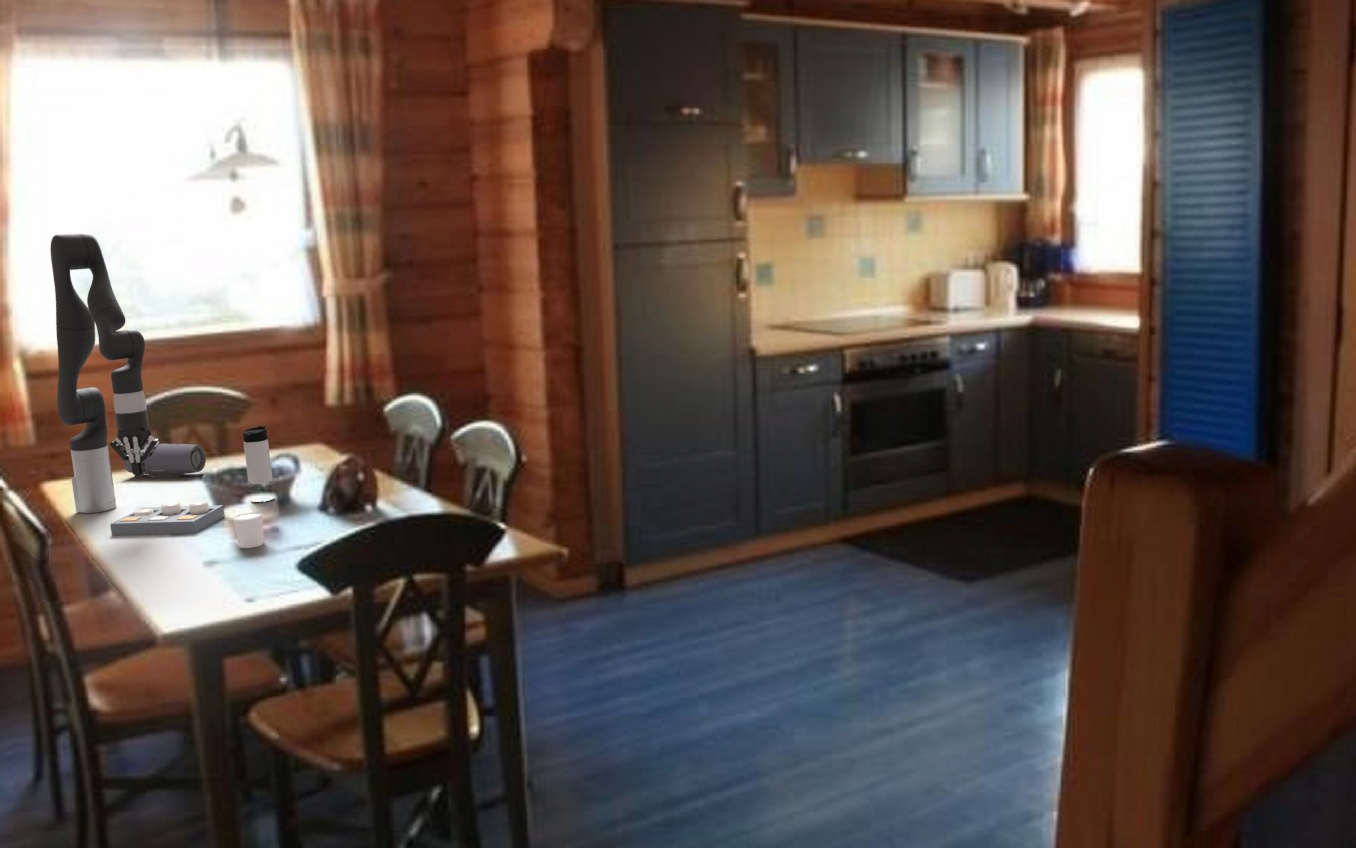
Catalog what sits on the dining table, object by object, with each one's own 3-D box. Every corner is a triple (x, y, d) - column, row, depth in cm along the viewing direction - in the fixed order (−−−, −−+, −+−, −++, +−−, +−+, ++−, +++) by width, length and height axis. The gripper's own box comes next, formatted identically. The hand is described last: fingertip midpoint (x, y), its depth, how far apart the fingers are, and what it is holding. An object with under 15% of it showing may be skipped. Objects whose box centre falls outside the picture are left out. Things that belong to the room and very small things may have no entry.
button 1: (132, 525, 331) (130, 513, 331) (141, 520, 336) (139, 509, 335) (149, 524, 331) (147, 513, 330) (158, 519, 335) (156, 508, 335)
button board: (111, 535, 324) (110, 523, 324) (144, 518, 340) (143, 506, 339) (195, 533, 322) (193, 520, 321) (224, 516, 337) (223, 504, 337)
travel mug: (280, 497, 355) (272, 425, 351) (263, 503, 349) (254, 430, 345) (262, 496, 358) (254, 425, 354) (245, 502, 352) (237, 430, 348)
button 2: (187, 517, 329) (185, 506, 329) (195, 513, 334) (194, 501, 333) (204, 517, 329) (202, 505, 328) (212, 512, 333) (211, 501, 333)
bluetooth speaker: (209, 472, 395) (205, 440, 394) (191, 479, 386) (187, 446, 385) (143, 473, 401) (139, 441, 399) (124, 479, 392) (120, 447, 390)
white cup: (238, 550, 303) (234, 521, 302) (233, 544, 309) (230, 515, 308) (268, 545, 306) (265, 516, 305) (263, 539, 312) (260, 510, 311)
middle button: (159, 518, 330) (157, 507, 330) (168, 514, 335) (166, 502, 334) (176, 518, 330) (174, 506, 329) (184, 513, 334) (183, 502, 334)
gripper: (162, 405, 331) (171, 472, 334) (114, 407, 332) (123, 473, 336) (147, 411, 323) (156, 479, 327) (97, 412, 325) (107, 480, 328)
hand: (139, 476), depth 331 cm, fingers closed
